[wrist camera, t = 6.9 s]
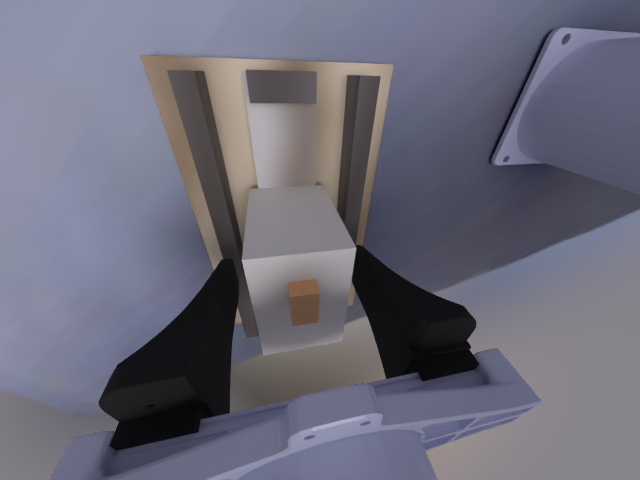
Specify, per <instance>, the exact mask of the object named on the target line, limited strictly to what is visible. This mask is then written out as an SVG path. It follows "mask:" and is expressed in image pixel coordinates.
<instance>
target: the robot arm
mask: <svg viewBox="0 0 640 480" xmlns="http://www.w3.org/2000/svg"><path fill="white" fill-rule="evenodd" d="M563 37H564V38H563ZM562 39H563V41H562ZM491 163H492V164H494V165H497V166H498V165H518V164H538V163H546V164H549V165H552V166H555V167H558V168H561V169H564V170H567V171H570V172H573V173H576V174H579V175H582V176H585V177H588V178H591V179H594V180H597V181H600V182H603V183H606V184H609V185H612V186H615V187H618V188H621V189H624V190H627V191H630V192H633V193H636V194H639V195H640V33H630V32H617V31H604V30H592V29H579V28H566V27H563V28H557V29H555V30H553V31H552V32H551V33H550V34H549V36H548V38H547V39H546V41H545V44H544V46H543V48H542V50H541V52H540V54H539V57H538V59H537V61H536V63H535V65H534V68H533V70H532V72H531V74H530V76H529V78H528V81H527V83H526V85H525V87H524V89H523V91H522V94H521V96H520V98H519V100H518V102H517V104H516V107H515V109H514V111H513V113H512V115H511V118H510V120H509V122H508V124H507V126H506V128H505V131H504V133H503V135H502V137H501V139H500V141H499V144H498V146H497V148H496V150H495V152H494V154H493V157H492V159H491ZM355 246H356V254H355V261H354V267H353V273H352V283H353V286H354V288H355V290H356V292H357V295H358V297H359V299H360V301H361V303H362V305H363V308H364V310H365V312H366V314H367V317H368V319H369V322H370V325H371V328H372V331H373V334H374V338H375V341H376V344H377V347H378V350H379V354H380V358H381V361H382V364H383V368H384V372H385V376H386V379H385V380H380V381H375V382H371V383H366V384H365V383H361V384H353V385H349V386H344V387H339V388H335V389H330V390H325V391H321V392H316V393H312V394H307V395H304V396H301V397H298V398H296V399H293V400H289V401H284V402H279V403H275V404H270V405H265V406H261V407H257V408H252V409H247V410H243V411H238V412H233V413H230V373H231V372H230V371H231V352H232V338H233V331H234V325H235V319H236V312H237V306H238V300H239V280H238V277H237V273H236V269H235V265H234V262H233V258H232V259H222V260H221V261H220V262H219V264H218V265H217V267H216V268H215V270H214V272H213V273H212V275H211V276H210V278H209V279H208V280H207V282H206V283H205V285H204V286H203V287H202V289H201V290H200V291H199V292H198V294H197V295H196V296H195V297H194V299H193V300H192V301H191V302H190V303H189V305H188V306H187V307H186V308H185V309H184V310H183V311H182V312H181V313H180V314H179V315H178V316H177V317H176V318H175V319H174V320H173V321H172V322H171V323H170V324H169V325H168V326H167V327H166V328H165V329H164V330H162V331H161V332H160V333H159V334H158V335H157V336H155V337H154V338H153V339H152V340H150V341H149V342H148V343H147V344H145V345H144V346H143V347H142V348H140V349H139V350H138V351H136V352H135V353H133V354H132V355H131V356H129V357H128V358H126V359H125V360H124V361H122V362H121V363H119V364H118V365H117V367H116V369H115V370H114V372H113V374H112V375H111V377H110V379H109V381H108V383H107V385H106V387H105V390H104V392H103V394H102V396H101V398H100V400H99V406H100V408H101V409H102V410H103V411H104V412H106V413H107V414H109V415H110V416H112V417H113V418H115V419H116V420H118V421H119V424H118V426H117V428H116V431H115V432H114V431H104V432H99V433H94V434H89V435H85V436H80V437H75V438H73V439H71V440H70V442H69V443H68V445H67V447H66V449H65V451H64V453H63V455H62V457H61V459H60V461H59V463H58V465H57V466H56V468H55V470H54V473H53V474H52V476H51V478H50V480H438V479H437V477H436V475H435V472H434V470H433V468H432V465H431V463H430V461H429V458H428V456H427V454H426V451H427V450H430V449H433V448H436V447H439V446H441V445H444V444H447V443H450V442H453V441H456V440H459V439H462V438H464V437H467V436H470V435H473V434H476V433H479V432H482V431H485V430H488V429H491V428H495V427H498V426H501V425H505V424H508V423H512V422H514V421H515V420H517V419H519V418H520V417H522V416H523V415H525V414H526V413H528V412H529V411H531V410H532V409H534V408H536V407H537V406H539V405H540V404H542V401H541V399H540V398H539V397H538V396H537V395H536V394H535V392H534V391H533V390H532V389H531V387H530V386H529V385H528V384H527V383H526V381H525V380H524V379H523V378H522V377H521V376H520V374H519V373H518V372H517V371H516V370H515V368H514V367H513V366H512V365H511V364H510V362H509V361H508V360H507V359H506V358H505V357H504V356H503V354H502V353H501V352H500V351H499V349H496V348H495V349H490V350H486V351H481V352H478V353H476V354H474V355H473V354H472V353H471V352H470V350H469V349H470V348H471V346H470V344H469V343H468V342H467V339H468V338H469V337H470V335H471V334H472V332H473V331H474V329H475V328H476V320H475V319H474V318H473V316H472V315H470V313H469V312H468V311H467V309H466V308H465V307H464V306H462V305H459V304H457V303H454V302H451V301H448V300H445V299H443V298H441V297H438V296H436V295H434V294H432V293H430V292H427V291H425V290H423V289H421V288H420V287H418V286H416V285H414V284H412V283H410V282H409V281H407V280H405V279H404V278H402V277H401V276H399V275H398V274H396V273H395V272H393V271H392V270H391V269H389V268H388V267H387V266H385V265H384V264H383V263H381V262H380V261H379V260H378V259H377V258H375V257H374V256H373V255H372V254H371V253H370V252H368V251H367V250H366V249H365V248H364V247H363V246H361V245H355Z"/></svg>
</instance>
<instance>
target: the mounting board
mask: <svg viewBox="0 0 640 480" xmlns="http://www.w3.org/2000/svg"><path fill="white" fill-rule="evenodd" d="M140 57H141V60H142V63H143V65H144V68H145V71H146V74H147V77H148V80H149V83H150V86H151V89H152V92H153V95H154V98H155V100H156V103H157V106H158V109H159V112H160V115H161V118H162V121H163V124H164V127H165V130H166V132H167V135H168V138H169V141H170V144H171V147H172V150H173V153H174V156H175V159H176V162H177V164H178V167H179V170H180V173H181V176H182V179H183V182H184V185H185V188H186V191H187V194H188V197H189V199H190V202H191V205H192V208H193V211H194V214H195V217H196V220H197V223H198V226H199V229H200V231H201V234H202V237H203V240H204V243H205V246H206V249H207V252H208V255H209V258H210V261H211V263H212V266H213V269H214V270H215V268H216V267H217V265H218V264H219V262H220V261H221V260H222V259H232V258H233V262H234V265H235V269H236V273H237V277H238V280H239V300H238V306H237V312H236V319H235V324H236V323H242V324H243V327H244V331H245V334H246V337H247V338H248V337H254V336H258V329H257V324H256V320H255V316H254V311H253V307H252V303H251V298H250V294H249V290H248V285H247V281H246V277H245V272H244V268H243V264H242V253H243V244H244V234H245V225H246V216H247V207H248V198H249V189H256V188H275V187H293V186H312V185H324V187H325V189H326V191H327V193H328V195H329V197H330V199H331V201H332V202H333V204H334V206H335V208H336V210H337V212H338V214H339V216H340V218H341V220H342V221H343V223H344V225H345V227H346V229H347V231H348V233H349V235H350V237H351V239H352V240H353V242H354V244H355V245H361V246H363V241H364V236H365V230H366V224H367V218H368V212H369V206H370V200H371V195H372V189H373V183H374V177H375V171H376V165H377V159H378V153H379V148H380V142H381V136H382V130H383V124H384V118H385V112H386V106H387V101H388V95H389V89H390V83H391V77H392V71H393V65H394V64H368V63H341V62H314V61H288V60H261V59H234V58H207V57H180V56H154V55H140ZM354 294H355V288H354V286H353V283H352V280H351V286H350V293H349V299H348V306H353V300H354Z"/></svg>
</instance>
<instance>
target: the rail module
mask: <svg viewBox="0 0 640 480" xmlns="http://www.w3.org/2000/svg"><path fill="white" fill-rule="evenodd" d="M355 254H356V246H355V244H354V242H353V240H352V239H351V237H350V235H349V233H348V231H347V229H346V227H345V225H344V223H343V221H342V220H341V218H340V216H339V214H338V212H337V210H336V208H335V206H334V204H333V202H332V201H331V199H330V197H329V195H328V193H327V191H326V189H325V187H324V185H312V186H293V187H275V188H256V189H249V198H248V207H247V216H246V225H245V234H244V244H243V253H242V264H243V268H244V272H245V277H246V281H247V285H248V290H249V294H250V298H251V303H252V307H253V311H254V316H255V320H256V324H257V329H258V333H259V337H260V342H261V346H262V351H263V355H269V354H274V353H279V352H286V351H291V350H297V349H302V348H308V347H314V346H319V345H325V344H330V343H335V342H341V341H342V337H343V331H344V325H345V318H346V312H347V306H348V299H349V293H350V286H351V280H352V273H353V267H354V261H355Z"/></svg>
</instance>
